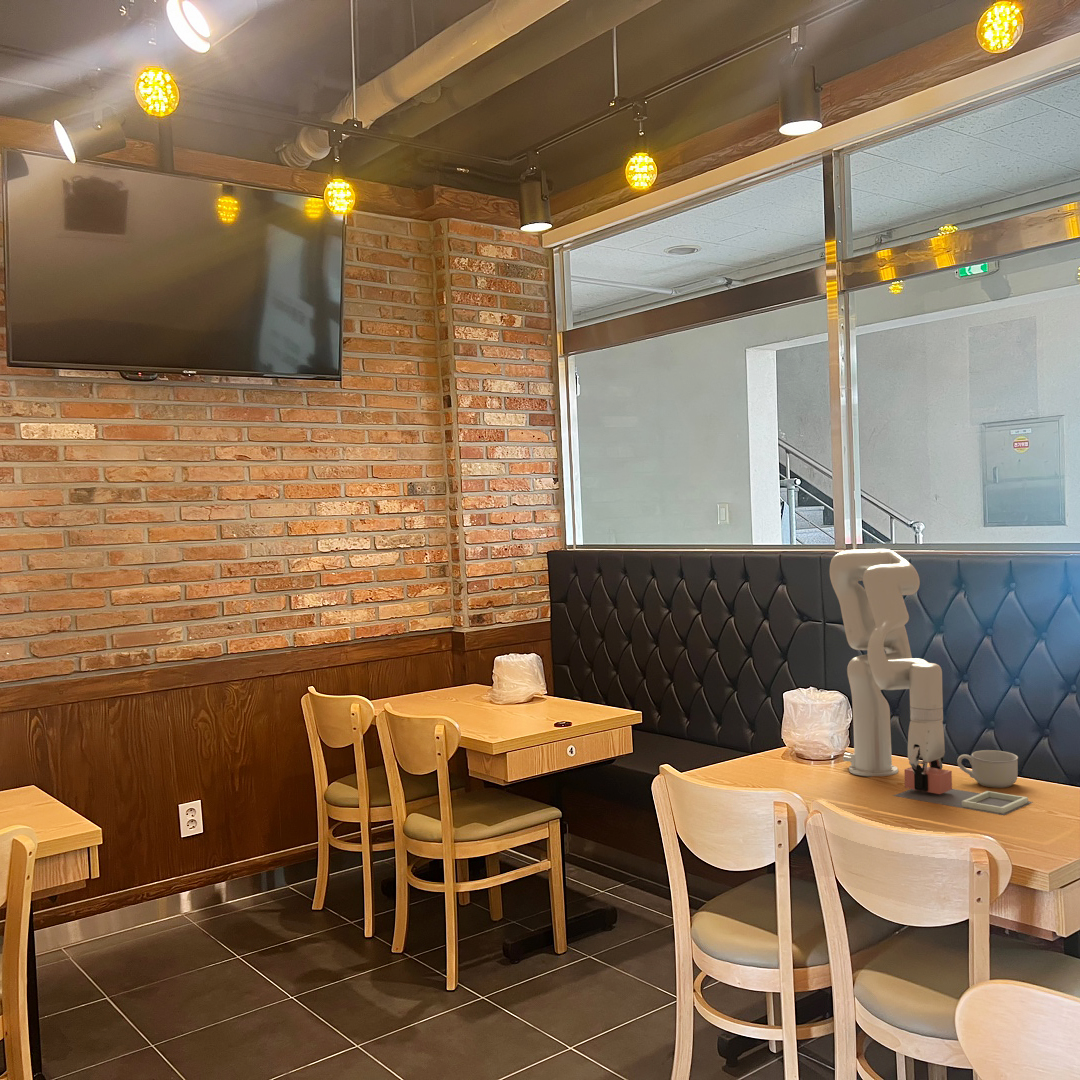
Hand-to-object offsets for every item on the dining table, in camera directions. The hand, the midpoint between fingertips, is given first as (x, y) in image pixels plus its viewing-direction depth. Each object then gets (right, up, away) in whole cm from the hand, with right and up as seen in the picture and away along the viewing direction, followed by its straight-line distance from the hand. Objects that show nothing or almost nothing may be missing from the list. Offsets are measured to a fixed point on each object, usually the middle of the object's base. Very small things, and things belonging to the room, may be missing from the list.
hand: (928, 786), depth 251 cm
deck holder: (+11, -1, -13) cm, 17 cm away
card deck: (0, 0, 0) cm, 0 cm away
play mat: (+5, -2, -7) cm, 9 cm away
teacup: (+18, -2, +7) cm, 19 cm away
